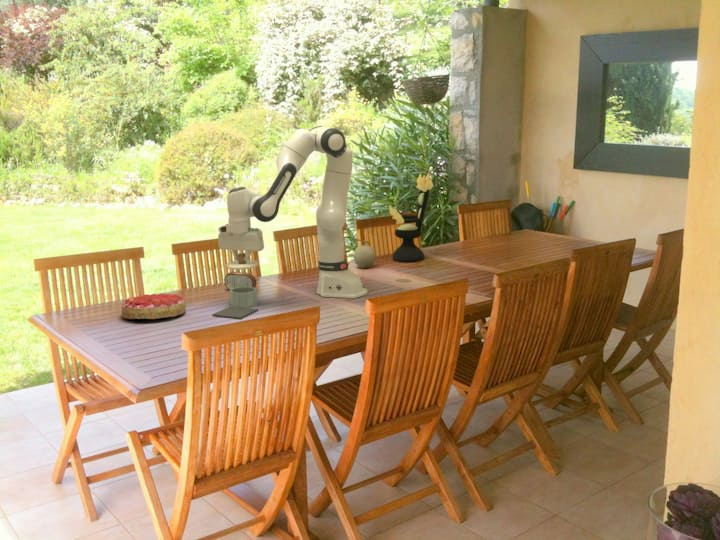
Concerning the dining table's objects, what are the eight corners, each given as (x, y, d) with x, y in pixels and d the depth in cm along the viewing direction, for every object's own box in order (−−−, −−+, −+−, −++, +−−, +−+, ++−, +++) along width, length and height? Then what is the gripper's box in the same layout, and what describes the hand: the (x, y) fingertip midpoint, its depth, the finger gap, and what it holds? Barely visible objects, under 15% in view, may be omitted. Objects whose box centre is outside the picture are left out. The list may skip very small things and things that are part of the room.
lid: (264, 263, 324) (263, 251, 323) (247, 270, 312) (246, 257, 311) (237, 262, 329) (237, 249, 328) (220, 268, 318) (219, 256, 316)
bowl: (262, 301, 327) (261, 288, 325) (248, 308, 317) (247, 294, 316) (239, 299, 331) (239, 285, 330) (225, 305, 321) (224, 291, 320)
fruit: (379, 266, 391) (379, 237, 388) (367, 270, 382) (367, 240, 379) (362, 264, 397) (361, 235, 394) (350, 268, 387) (349, 239, 384)
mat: (258, 311, 313) (258, 309, 313) (240, 319, 301) (240, 317, 301) (230, 308, 318) (230, 306, 318) (212, 316, 307) (212, 314, 306)
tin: (257, 291, 346) (256, 272, 344) (253, 292, 343) (253, 274, 341) (227, 289, 351) (226, 270, 349) (223, 290, 348) (222, 272, 346)
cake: (153, 324, 293) (151, 303, 292) (107, 319, 306) (106, 299, 305) (198, 313, 314) (197, 293, 313) (154, 308, 327) (153, 289, 326)
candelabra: (388, 256, 415) (387, 172, 406) (429, 254, 418) (429, 170, 408) (393, 263, 397) (393, 175, 387) (436, 261, 399) (436, 174, 389)
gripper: (265, 227, 316) (267, 260, 319) (223, 225, 324) (226, 257, 327) (257, 229, 310) (259, 263, 313) (214, 227, 318) (217, 260, 322)
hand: (242, 260), depth 320 cm, fingers closed on lid, 3 cm apart
